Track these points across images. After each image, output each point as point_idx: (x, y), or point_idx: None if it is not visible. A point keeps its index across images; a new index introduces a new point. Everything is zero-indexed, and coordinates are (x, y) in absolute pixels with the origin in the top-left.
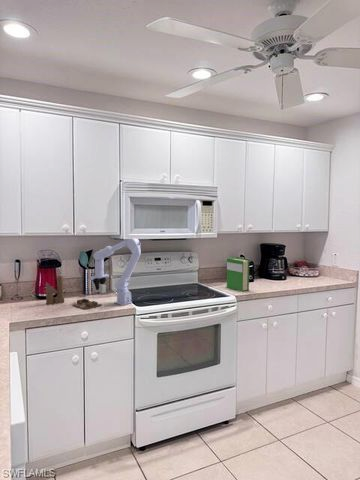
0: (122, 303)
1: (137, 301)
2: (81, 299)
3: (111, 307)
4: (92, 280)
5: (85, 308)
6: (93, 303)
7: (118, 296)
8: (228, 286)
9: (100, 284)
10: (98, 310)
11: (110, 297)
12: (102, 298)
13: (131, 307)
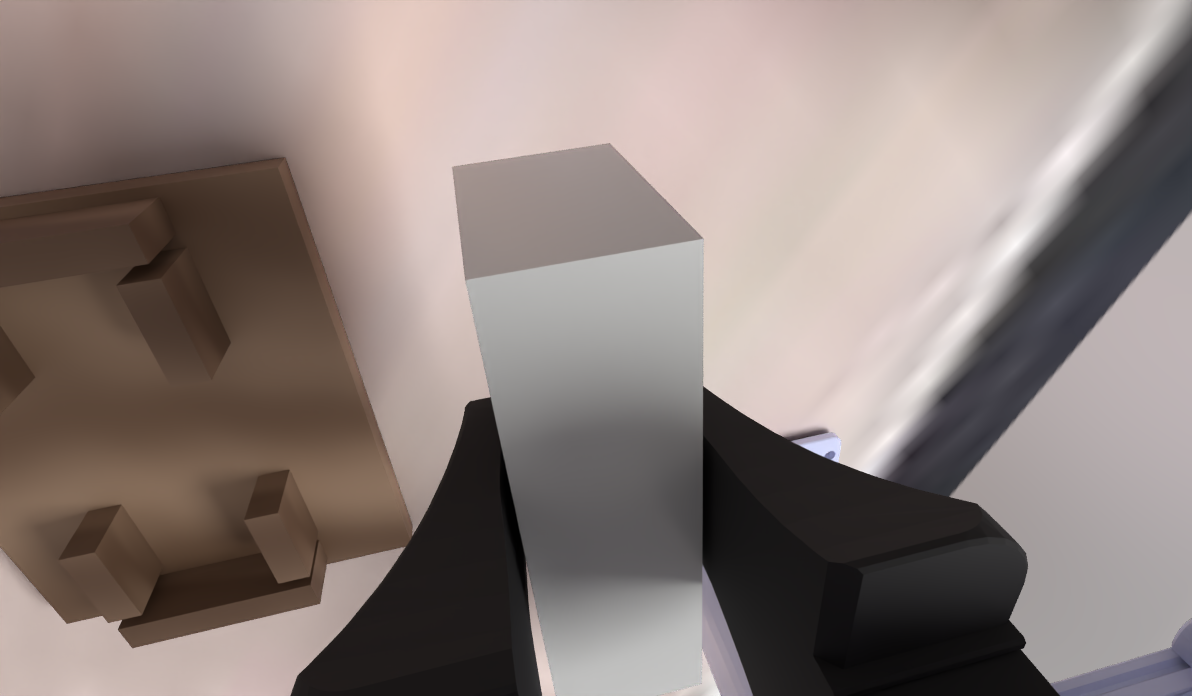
0: None
1: None
2: (2, 260)
3: None
4: (298, 680)
5: (64, 609)
6: (226, 618)
7: (710, 630)
8: None
9: (617, 589)
10: (269, 675)
11: (892, 83)
12: (726, 41)
13: (672, 692)
